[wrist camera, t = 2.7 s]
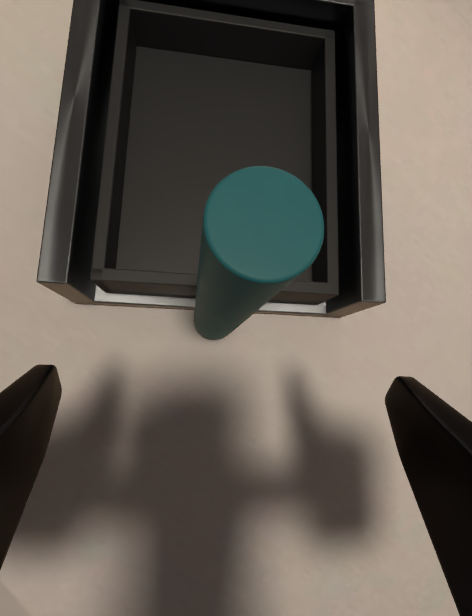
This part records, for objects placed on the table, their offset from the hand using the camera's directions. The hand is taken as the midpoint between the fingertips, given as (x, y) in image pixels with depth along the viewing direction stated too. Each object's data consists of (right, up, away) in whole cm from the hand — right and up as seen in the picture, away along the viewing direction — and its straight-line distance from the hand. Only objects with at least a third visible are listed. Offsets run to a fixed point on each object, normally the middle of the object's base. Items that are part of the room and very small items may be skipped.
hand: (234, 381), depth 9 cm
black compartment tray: (-1, +9, +11) cm, 14 cm away
